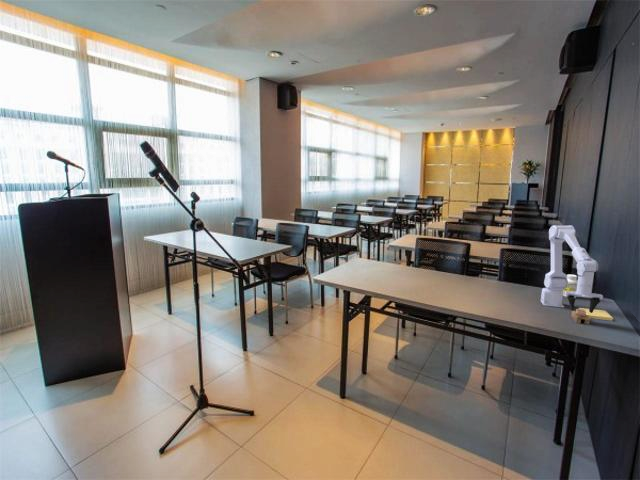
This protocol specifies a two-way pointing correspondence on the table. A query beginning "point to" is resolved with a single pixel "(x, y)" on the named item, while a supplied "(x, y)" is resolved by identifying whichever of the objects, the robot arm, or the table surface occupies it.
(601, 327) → the table surface
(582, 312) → the salmon pink square block
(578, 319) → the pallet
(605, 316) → the plate
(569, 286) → the supplement bottle
